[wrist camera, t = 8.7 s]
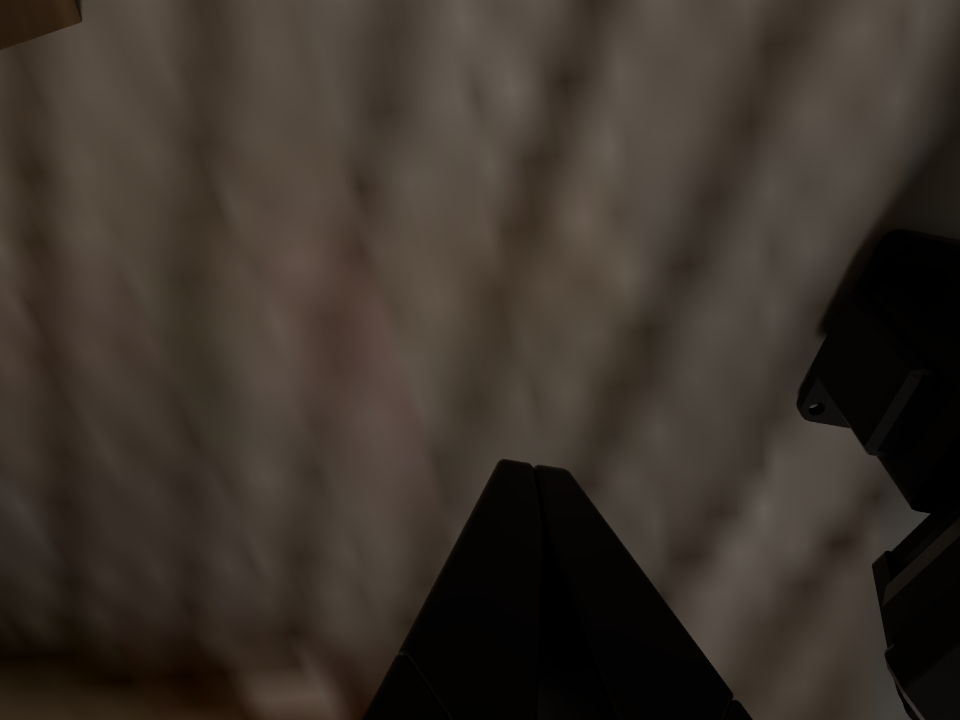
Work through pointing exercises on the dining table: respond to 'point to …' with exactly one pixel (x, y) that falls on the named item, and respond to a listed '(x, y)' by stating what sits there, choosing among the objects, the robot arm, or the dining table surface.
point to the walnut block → (34, 19)
